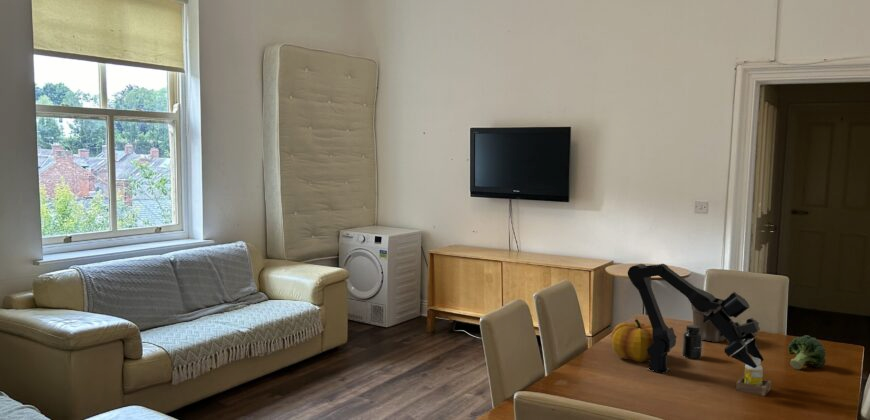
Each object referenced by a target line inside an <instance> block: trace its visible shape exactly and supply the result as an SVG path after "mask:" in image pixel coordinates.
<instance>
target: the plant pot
mask: <svg viewBox="0 0 870 420" xmlns="http://www.w3.org/2000/svg"><path fill="white" fill-rule="evenodd" d="M690 304H691V303H690ZM690 306H691V310H692V321H693V325H695V326H699V327H700V332H699V333H700V334H701V335H702V340H704V341H707V342H709V341H712V343H720V342H724V341H725V340H726V339H725V338H724V336H720V335H719V334H720V332H719V330H718V329H717V328H716V327H715V326H714V325H713V324H712V323H711V321H710V320H709V321H707V322H705V323H703V319H704V317H703V315H704V314H709V313H711V312H712V311H713V310H717V311H718V310H720V309H721V308H722V306H720V307H719V308H717V309H711V310H710V311H708V312H700V311H698V310H697V309H696V308H695V307H694V306H693V305H692V304H691V305H690Z"/></svg>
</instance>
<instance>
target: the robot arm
mask: <svg viewBox="0 0 870 420" xmlns="http://www.w3.org/2000/svg"><path fill="white" fill-rule="evenodd" d="M656 276H657V277H660V278H661V279H662V280H663V281H665V282H667V284H669V285H671V286H672V287H673V288H675V289H676V290H677V291H679V292H680V293H682V295H684V296H685V297H686V298H687V299H688V301H689V302H690V304H692V305H693V306H694V307H695V308H696V309H697V310H698V311H700V312H708V311H710V310H711V309H717V308H719V307H720V306H722V308H721V309H720V310H718V311H717V310H713V311H712V312H711V313H709V314H704V315H703V317H704V319H703V323H705V322H707V321H709V320H710V321H711V323H712V324H713V325H714V326H715V327H716V328H717V329H718V330H719V332H720V334H719V335H720V336H724V338H725V340H726V341H727V342H728V344H727V346H726V347H725V348H724V353H725V355H726V356H727V357H730V358H732V359H735V360H737V361H739V362H741V363H744V364H745V365H746V364H747V365H749V366H751V367H753V368H756V367H757V365H756V364H755V362H754V361H753V359H752V358H751V357H755V358H759V359H761V363H762V362H763V361H764V357H763V355H762V354H761V352H760V350H759V347H758V345H757V340H758V337H757V333H758V332H759V331H760V330H761V328H760V327H759V324H760V323H759V322H758V321H757V320H756V319H754V318H753V317H750V318H748V319H746V322H744V323H741V324H740V323H739V322H737V321H733V319H732V317H733V318H738V317H739V316H741V315H742V314H743V313H745V312H746V311H747V310H748V309H750V304H749V302H748V301H747V300H746V299H745V298H744V297H743V296H741V295H739V294H738V293H737V292H735V291H734V292H732V293H731V294H729V296H727V298H725V299H722V298H717V297H715V296H714V295H713V294H712V293H710V292H708V291H706V290H704V289H701V288H699V287H696V286H694V285H693V284H691V283H690V282H689V281H688V280H686V278H684V277H682V276H681V275H679V274H678V273H677V272H676V271H674V270H673V269H671V268H670V267H669V266H668V265H667V264H665V263H660V264H659V263H658V264H649V265H646V264H643V263H638V264H634V265H632V266H630V267H629V268H628V270H627V278H629V280H630V282H631V284H632V285H633V286H634V287H635V288H636V289H637V291H638V293H639V296H640V298H641V301H642V304H643V307H644V309H645V312H646V315H647V316H648V319H649V323H650V324H651V325H652V337H653V343H654V344H653V345H651V346H650V347H649V348H648V349H647V351H648V354H649V355H650V361H649V367H650V368H649V369H650V370H654V371H657V372H656V373H658V372H660V373H659V374H664V373H663V372H665V373H667V372H669V371H668V370H670V371H672V369H671V368H670V367H668V353H670V352H671V349H673V348H674V347H675V346H676V343H677V340H676V339H677V338H678V337H677V336H676V334H675V329H674V327H672V326H671V327H669V326H668V325H667V324H666V323H665V320H664V318H663V315H662V312H661V310H660V306H659V305H658V302H657V299H656V296H655V294H654V291H653V289H652V277H656ZM650 370H649V371H650ZM654 371H653V372H654ZM666 371H667V372H666Z"/></svg>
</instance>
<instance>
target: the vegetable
mask: <svg viewBox="0 0 870 420" xmlns="http://www.w3.org/2000/svg"><path fill="white" fill-rule="evenodd" d="M787 350H788V353H789V355H795V357H794V358H791V359H790V362H789V365H790V367H792V369H794V370H801V369H802V368H803V366H804V365H805V366H806V365H810V364H812V366H813V367H814V368H816V367H817V368H821V367H823V366H824V365H825V364H826V358H825V357H826V354H827V352H826V349H825V348H824V345H823V343H822V342H821V341H819V340H818V339H817V338H816V337H813V336H812V337H811V336H810V335H806V334H805V335H803V336H797V337H794V338H793V339H792V340H791V342H790V343H789V344H788V348H787Z"/></svg>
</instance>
